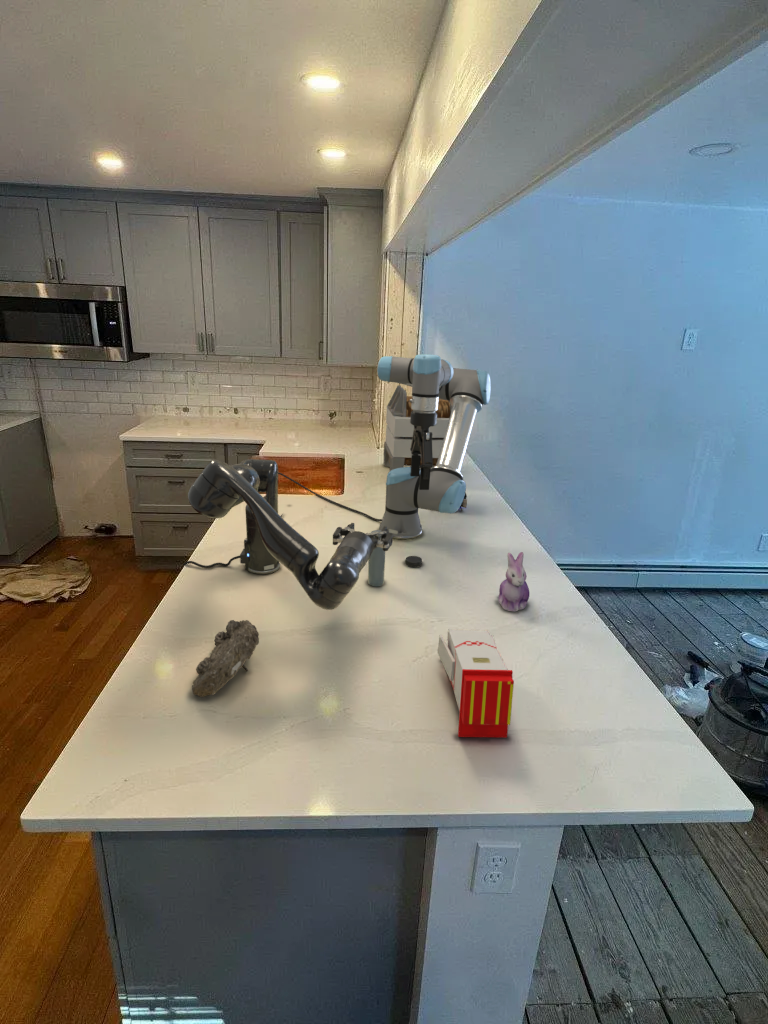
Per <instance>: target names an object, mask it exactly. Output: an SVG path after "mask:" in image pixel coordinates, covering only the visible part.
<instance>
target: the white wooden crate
mask: <svg viewBox="0 0 768 1024" xmlns="http://www.w3.org/2000/svg"><path fill="white" fill-rule="evenodd" d="M407 394H408V393H407V390H406V389H404V388H403V387H402V385H401V384H400V385H399V384H398V385H397V386H396V388H395V390H394V392H393V394H392V395H391V398H390V400H389V402H388V404H387V405H386V413H385V414H386V415H385V423H386V428H385V438H384V442H383V466H384V467H388V468H389V472H390V471H391V470H393V469H397V468H403V467H405V466H406V467H411V457H412V455H413V454H412V453H411V450H410V448H411V443H412V437H413V431H414V425H412V424H411V423H410V418H411V412H412V411H413V410H412V409H411V404H412V402H410V399H412V395H407ZM451 411H452V406H451V404H450V401H448V400H443V399H439V398H438V410H437V411H435V412H436V413H437V422H436V425H435V426H431V427H429V432H432V457H433V467H435V466H436V464H437V460H438V457H439V453H440V450H441V446H442V443H443V439H444V436H445V432H446V429H447V425H448V421H449V418H450V414H451ZM420 465H422V463H421V460H420ZM461 472H462V470H461V471H460V473H461ZM461 474H462V473H461Z"/></svg>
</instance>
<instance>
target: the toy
mask: <svg viewBox="0 0 768 1024" xmlns="http://www.w3.org/2000/svg"><path fill="white" fill-rule="evenodd" d="M446 640H447V643H446V641H445V639H444V636H443V635H442V634H439V637H438V646H437V656H438V657H439V659H440V661H441V663H442V666H443V668H444V670H445V672H446V674H447V677H448V679H449V681H450V684H451V687H452V690H453V693H454V697H455V701H456V705H457V708H458V711H459V714H458V715H459V716H458V730H457V731H458V732H457V737H458V738H508V731H509V726H510V725H511V717H512V707H513V697H514V696H513V695H514V684H515V680H514V679H513V673H514V671H513V670H512V669H508V667H507V665H506V662H505V661H504V659H503V658H502V655H501V653H500V651H499V649H498V647H497V643H496V639H495V637H494V635H493V634H491V632H490V631H489V629H467V628H466V629H465V628H463V629H461V628H460V629H459V628H448V630H447V639H446Z"/></svg>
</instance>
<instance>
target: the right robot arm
mask: <svg viewBox="0 0 768 1024" xmlns="http://www.w3.org/2000/svg"><path fill="white" fill-rule="evenodd" d="M376 373H377V377H378V379H379V380H380V381H382V382H387V383H394V384H395V383H396V384H398V385H399V384H400V385H404V386H408V387H411V396H412V399H410V402H412V404H411V409H412V410H413V411H412V412H411V418H410V423H411V424H412V425H414V431H413V437H412V443H411V448H410V450H411V453H412V454H413V455H412V457H411V466H406V467H405V466H404V467H403V468H397V469H393V470H391V471H390V470H389V471H388V473H387V475H386V482H385V504H384V505H385V507H384V508H385V509H384V513H383V515H382V518H375V517H373V516H371V515H369V514H367V513H365V512H362V511H360V510H357V509H354V508H351V507H349V506H346V505H344V504H342V503H339V502H336V501H334V500H332V499H329V498H327V497H325V496H323V495H321V494H319V493H317V492H315V491H313V490H312V489H309V488H308V487H306V486H304V485H303V484H301V483H299V482H298V481H296V480H295V479H293V478H291V477H289V476H287V475H286V474H284V473H281V472H279V474H278V475H279V476H282V477H284V478H286V479H287V480H289V481H291V482H293V483H294V484H296V485H298V486H300V488H302V489H304V490H306V491H308V492H309V493H312V494H313V495H315V496H317V497H319V498H321V499H323V500H325V501H327V502H330V503H332V504H334V505H336V506H339V507H342V508H344V509H347V510H349V511H351V512H355V513H357V514H360V515H363V516H364V517H367V518H369V519H371V520H373V521H375V522H379V526H378V530H381V531H382V529H383V527H384V526H385V527H387V529H389V533H393V540H395V541H410V540H415V539H418V538H420V537H421V536H422V535H423V525H422V524H421V518H420V515H419V509H420V510H427V511H431V512H438V513H440V514H451V515H452V514H455V513H456V512H457V511H459V510H460V506H461V504H462V502H463V499H464V496H465V492H466V489H467V484H466V481H464V476H463V474H462V473H460V471H461V472H462V467H463V464H464V458H465V456H466V452H467V450H468V449H467V448H468V445H469V442H470V439H471V438H470V437H471V433H472V430H473V425H474V423H475V419H476V416H477V415H476V414H477V413H479V412H481V411H482V409H483V406H487V405H489V403H490V400H491V392H492V391H491V389H492V388H491V386H492V385H491V384H492V383H491V376H490V374H489V372H488V371H486V370H480V369H478V368H477V369H468V368H460V367H459V368H457V367H453V364H452V363H451V362H450V361H448V360H447V359H442V358H441V356H439V355H437V354H429V353H427V354H423V353H421V354H420V353H419V354H416V355H415V357H404V356H403V357H402V356H393V355H390V356H388V355H385V356H382V357H380V358H379V361H378V363H377V371H376ZM438 398H439V399H443V400H448V401H450V404H451V406H452V411H451V414H450V418H449V421H448V425H447V429H446V432H445V436H444V439H443V443H442V446H441V450H440V453H439V457H438V460H437V464H436V466H433V457H432V432H429V427H431V426H435V425H436V422H437V413H436V412H435V411H437V410H438ZM420 460H421V463H422V465H420Z"/></svg>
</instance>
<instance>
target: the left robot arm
mask: <svg viewBox="0 0 768 1024" xmlns="http://www.w3.org/2000/svg"><path fill="white" fill-rule="evenodd" d="M278 466H279V465H278V463H277V461H276V460H273V459H258V458H257V459H255V458H254V459H253V458H248V459H244V460H242V461H241V462H240V463H235V464H231V465H230V464H229V463H226V462H224V461H222V460H218V459H212V460H211V461H210V462H209V463H207V465H206V466H205V467H204V469H203V470H202V471H201V472H200V473H199V475H198V476H197V478H196V479H195V481H194V482H192V484H191V486H190V487H189V489H188V492H187V499H188V503H189V504H190V507H192V509H193V510H194V511H196V512H197V513H198V514H199V515H201V516H203V517H206V518H209V519H222V518H224V517H225V516H227V515H228V513H229V512H230V511H231V510H232V508H234V507H236V506H238V505H240V504H242V503H245V504H246V505H245V507H244V508H245V509H244V511H245V528H246V538H245V539H244V540H243V549H242V550H241V552H240V554H239V555H236V556H234V557H231V558H230V559H229V561H228V562H227V563H224V562H214V563H212V564H209V565H205V564H201V563H198V562H196V561H193V560H187V561H185V562H184V563H183V564H182V565H183V566H187V565H188V564H191V565H195V566H197V567H199V568H202V569H209V568H213V567H217V566H223V567H229V566H230V565H231V563H232V562H233V561H235V560H238V559H239V560H240V561H239V563H240V564H244V570H245V571H249V572H250V573H253V574H255V575H256V574H257V575H267V574H273V573H274V572H277V571H278V570H279V569H280V567H281V565H282V566H283V567H284V568H286V569H287V570H288V571H289V572H291V574H292V575H293V576H294V577H295V579H296V580H297V582H298V583H299V585H300V586H301V588H302V589H303V590H304V592H305V594H306V595H307V596H308V598H309V599H310V600H311V601H312V603H313V604H314V605H316V606H317V607H318V608H320V609H322V610H327V611H332V610H335V609H337V608H338V607H339V606H340V605H341V604H342V602H343V601H344V600H345V598H346V597H347V596H348V594H350V592H351V591H352V590H353V588H354V587H355V585H357V583H358V580H359V578H360V573H361V572H362V570H363V569H364V568H365V567H366V565H367V563H368V562H369V558H370V556H371V554H372V552H373V550H374V549H376V548H377V547H381V548H383V551H385V552H388V551H389V549H390V548H391V547H392V545H393V543H394V542H393V541H394V539H393V533H389V529H387V527H385V526H384V527H383V529H382V531H381V532H377V531H376V532H372V531H371V532H372V533H371V532H366V533H365V532H363V531H359V530H355V523H354V522H351V523H350V524H347V526H345V527H344V528H343V527H341V526H338V527H336V529H335V531H334V532H333V534H332V545H333V546H337V547H336V549H335V551H334V553H333V555H332V556H331V557H330V560H329V561H328V563H327V564H326V565H325V566H324V568H323V569H322V571H320V573H319V572H318V571H317V568H316V563H317V561H318V558H319V555H320V553H319V550H318V548H316V547H315V546H314V544H312V543H311V542H310V541H309V540H308V539H306V538H305V537H304V536H303V535H301V533H300V532H298V531H297V530H296V529H294V527H292V526H291V525H290V524H289V523H287V521H286V520H285V519H284V518H283V516H282V517H281V515H280V514H279V475H280V474H279V473H280V472H279V467H278ZM260 493H265V495H264V496H263V495H262V494H260ZM373 536H375V538H374V537H373ZM380 536H381V539H380ZM187 563H188V564H187ZM280 564H281V565H280Z"/></svg>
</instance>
